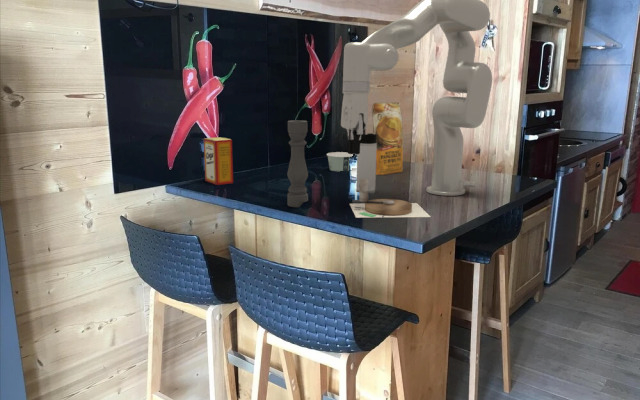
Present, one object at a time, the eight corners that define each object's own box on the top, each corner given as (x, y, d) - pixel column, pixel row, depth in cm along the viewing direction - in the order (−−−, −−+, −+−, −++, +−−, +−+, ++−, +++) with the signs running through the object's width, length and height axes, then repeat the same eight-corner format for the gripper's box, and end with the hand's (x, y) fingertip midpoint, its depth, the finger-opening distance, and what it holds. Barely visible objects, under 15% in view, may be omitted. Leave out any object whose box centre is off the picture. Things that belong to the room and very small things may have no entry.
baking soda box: (205, 180, 199) (203, 137, 195) (221, 178, 202) (220, 136, 199) (216, 185, 191) (215, 139, 188) (233, 183, 195) (231, 138, 191)
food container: (322, 168, 229) (322, 152, 227) (349, 166, 232) (349, 151, 231) (331, 172, 217) (331, 156, 216) (359, 171, 221) (359, 155, 220)
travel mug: (360, 195, 176) (361, 133, 172) (353, 191, 183) (355, 131, 178) (378, 194, 178) (380, 133, 174) (371, 190, 184) (372, 131, 180)
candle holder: (307, 202, 166) (308, 120, 160) (308, 207, 159) (308, 122, 154) (287, 202, 165) (287, 120, 160) (287, 207, 159) (286, 122, 154)
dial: (412, 205, 156) (413, 177, 154) (410, 216, 143) (412, 186, 142) (355, 202, 159) (356, 175, 157) (349, 212, 147) (349, 183, 145)
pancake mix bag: (364, 174, 215) (366, 102, 208) (396, 169, 227) (399, 101, 220) (376, 176, 210) (378, 103, 203) (409, 171, 222) (412, 102, 215)
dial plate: (416, 208, 160) (416, 202, 159) (430, 222, 144) (430, 216, 144) (349, 208, 158) (349, 202, 158) (355, 222, 143) (356, 216, 142)
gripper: (335, 87, 157) (333, 150, 161) (352, 88, 143) (349, 157, 147) (359, 88, 159) (357, 150, 163) (378, 89, 145) (375, 157, 149)
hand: (353, 153), depth 155 cm, fingers closed
